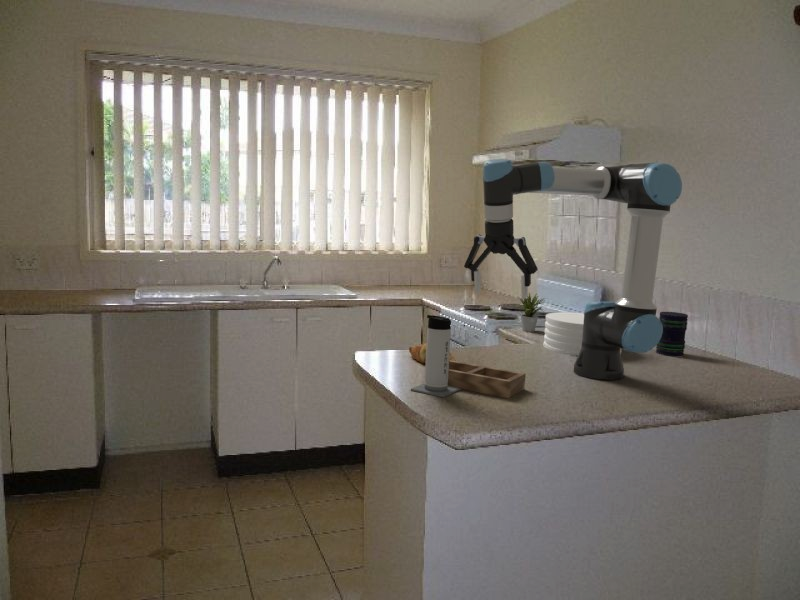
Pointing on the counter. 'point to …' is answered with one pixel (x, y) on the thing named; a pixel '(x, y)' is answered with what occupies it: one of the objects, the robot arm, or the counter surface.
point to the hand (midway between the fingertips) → (500, 295)
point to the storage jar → (672, 334)
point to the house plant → (530, 313)
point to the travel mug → (437, 353)
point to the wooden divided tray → (485, 379)
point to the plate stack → (564, 332)
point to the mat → (436, 393)
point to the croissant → (422, 353)
